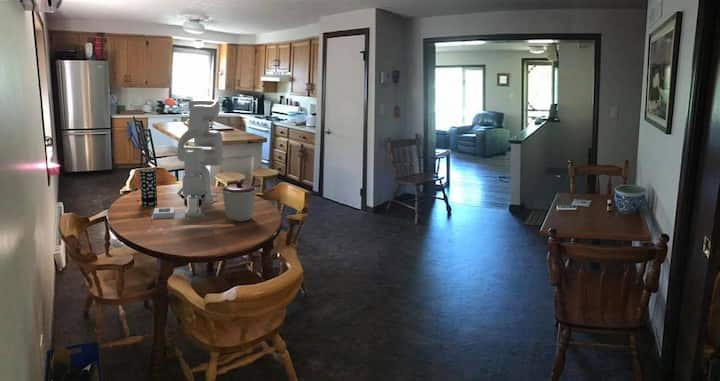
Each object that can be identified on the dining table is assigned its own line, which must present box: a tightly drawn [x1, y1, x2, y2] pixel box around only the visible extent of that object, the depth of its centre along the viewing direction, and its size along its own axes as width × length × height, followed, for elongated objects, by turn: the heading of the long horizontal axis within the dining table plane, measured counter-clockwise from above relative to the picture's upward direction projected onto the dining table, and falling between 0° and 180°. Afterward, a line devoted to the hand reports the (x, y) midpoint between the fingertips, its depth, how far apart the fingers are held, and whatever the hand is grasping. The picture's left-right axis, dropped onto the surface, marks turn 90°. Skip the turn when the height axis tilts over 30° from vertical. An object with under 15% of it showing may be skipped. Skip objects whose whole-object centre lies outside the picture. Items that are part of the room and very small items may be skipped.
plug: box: [188, 195, 198, 213], centre depth 282 cm, size 4×6×10 cm, turn 17°
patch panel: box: [150, 206, 205, 222], centre depth 281 cm, size 26×14×4 cm, turn 107°
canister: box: [221, 180, 258, 223], centre depth 280 cm, size 18×18×21 cm
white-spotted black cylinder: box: [139, 168, 158, 208], centre depth 301 cm, size 8×8×20 cm
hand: (193, 206), depth 283 cm, fingers open, 6 cm apart
